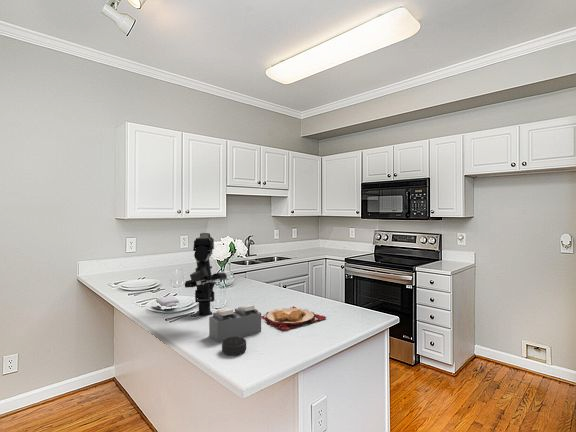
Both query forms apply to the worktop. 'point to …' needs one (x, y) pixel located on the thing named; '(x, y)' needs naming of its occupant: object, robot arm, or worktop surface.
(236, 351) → the smart speaker
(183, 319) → the worktop surface
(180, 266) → the worktop surface
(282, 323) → the plate with food
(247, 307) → the block
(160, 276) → the worktop surface
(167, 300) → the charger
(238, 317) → the switch box
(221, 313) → the rocker
